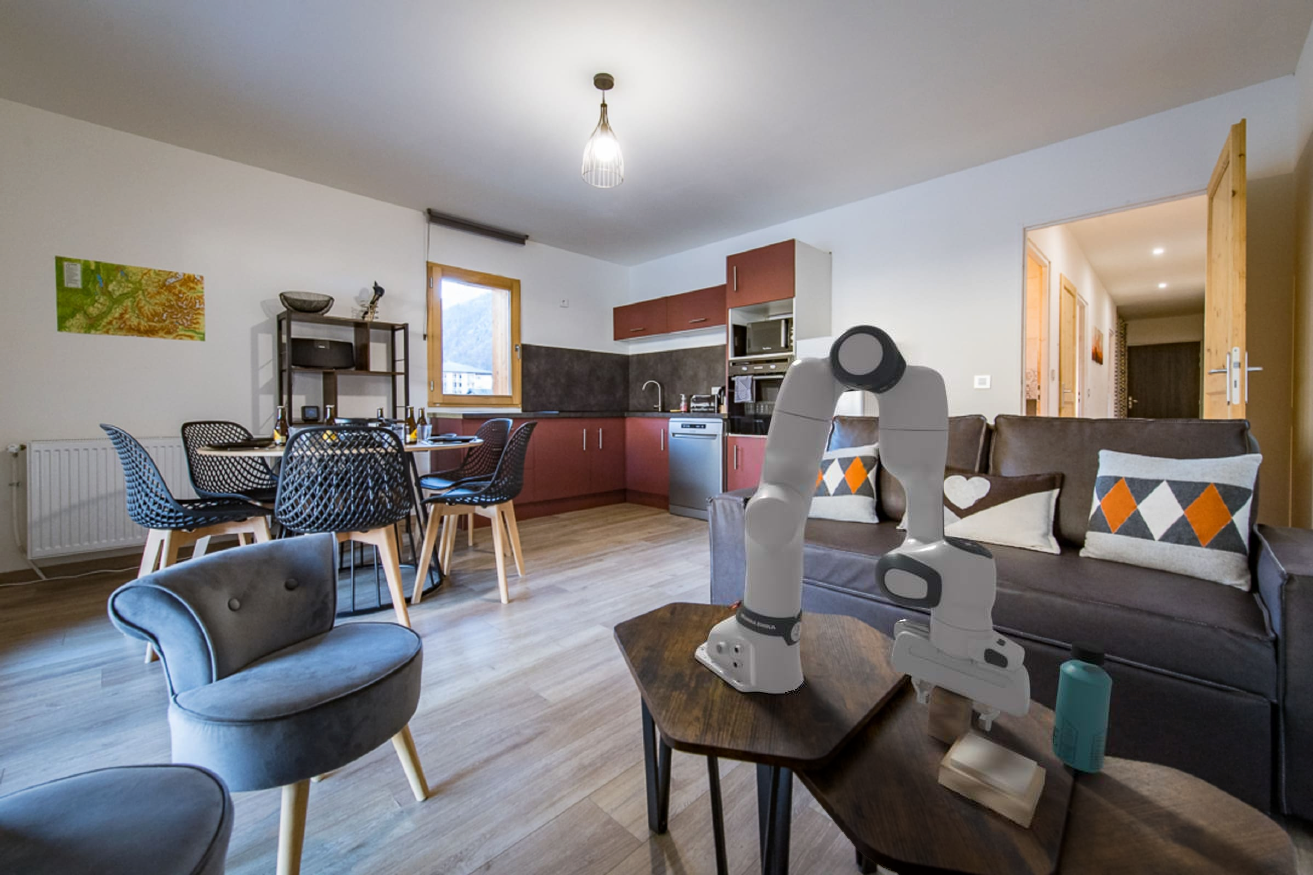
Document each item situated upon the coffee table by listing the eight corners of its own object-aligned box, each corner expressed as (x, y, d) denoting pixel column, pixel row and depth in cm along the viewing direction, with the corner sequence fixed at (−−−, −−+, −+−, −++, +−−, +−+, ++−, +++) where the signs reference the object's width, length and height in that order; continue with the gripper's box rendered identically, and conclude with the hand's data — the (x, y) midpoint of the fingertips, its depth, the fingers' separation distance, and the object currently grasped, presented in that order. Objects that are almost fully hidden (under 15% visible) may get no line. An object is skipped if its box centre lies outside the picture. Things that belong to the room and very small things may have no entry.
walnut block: (927, 733, 87) (931, 689, 86) (937, 721, 90) (941, 678, 90) (960, 749, 83) (965, 702, 83) (969, 736, 87) (973, 691, 86)
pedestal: (938, 782, 76) (940, 756, 75) (960, 749, 83) (962, 725, 83) (1028, 829, 68) (1031, 801, 68) (1043, 788, 76) (1046, 762, 75)
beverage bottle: (1112, 786, 77) (1129, 658, 75) (1062, 778, 78) (1077, 652, 76) (1085, 757, 83) (1100, 638, 81) (1039, 749, 84) (1053, 632, 83)
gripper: (888, 620, 91) (882, 694, 92) (1029, 666, 76) (1020, 753, 78) (901, 610, 95) (896, 681, 96) (1036, 652, 81) (1028, 735, 82)
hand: (952, 714), depth 87 cm, fingers open, 8 cm apart
